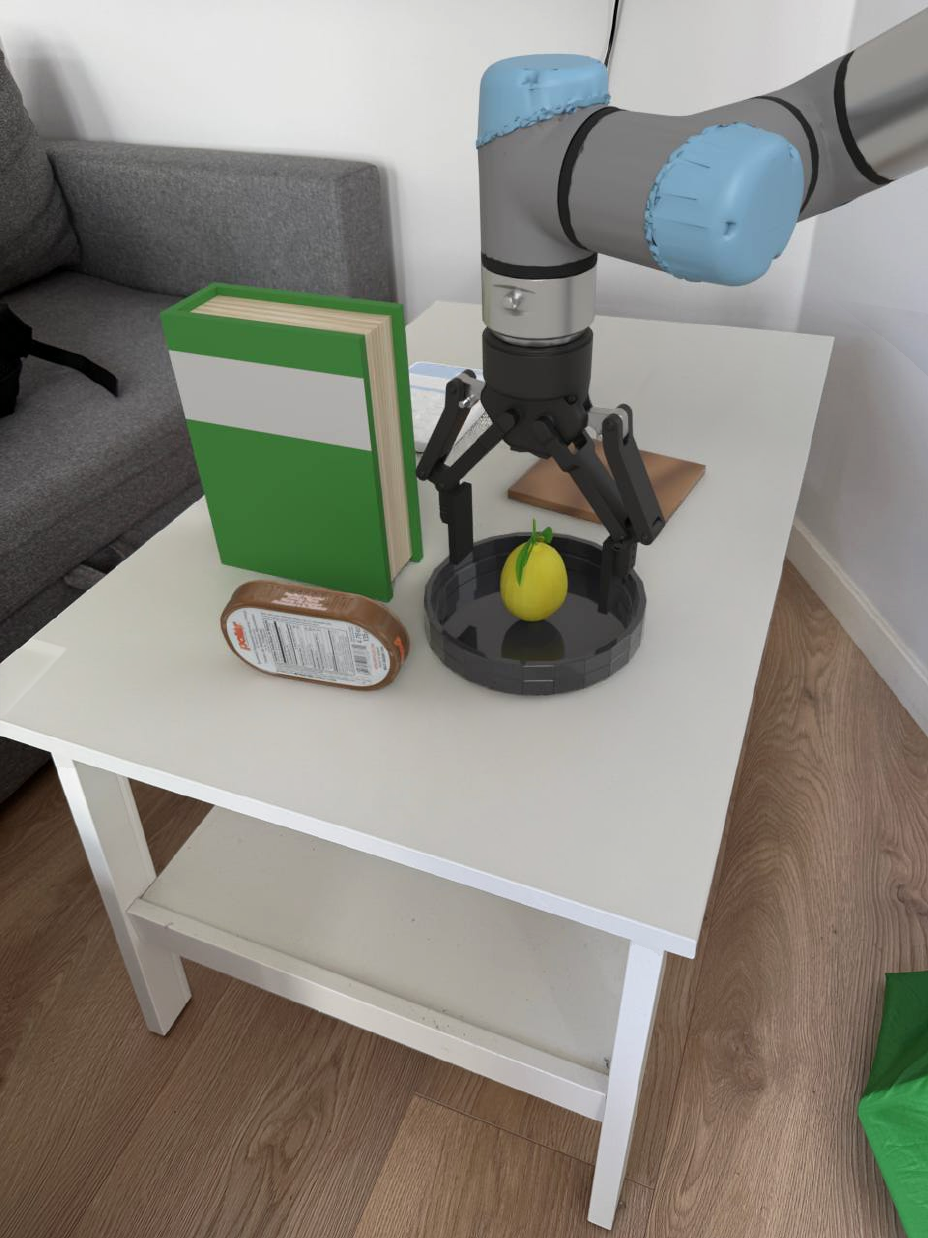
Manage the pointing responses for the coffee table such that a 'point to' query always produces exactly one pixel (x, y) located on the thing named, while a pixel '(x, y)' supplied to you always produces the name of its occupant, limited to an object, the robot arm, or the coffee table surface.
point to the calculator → (435, 399)
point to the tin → (315, 635)
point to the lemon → (534, 578)
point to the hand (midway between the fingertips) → (532, 579)
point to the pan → (531, 650)
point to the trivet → (665, 474)
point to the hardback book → (301, 432)
